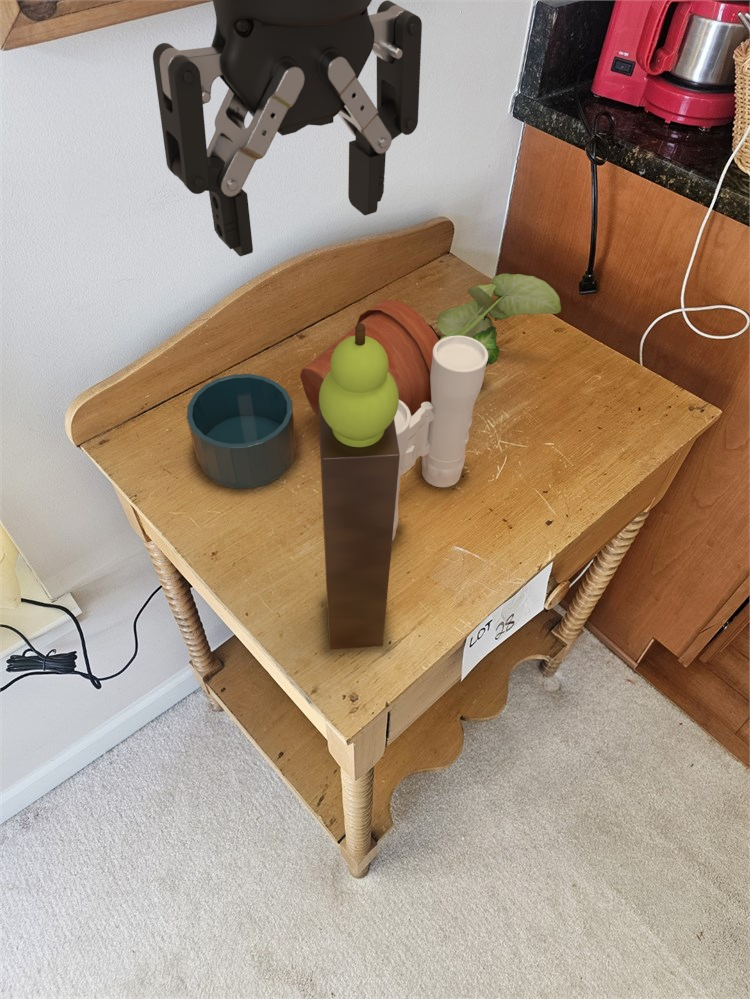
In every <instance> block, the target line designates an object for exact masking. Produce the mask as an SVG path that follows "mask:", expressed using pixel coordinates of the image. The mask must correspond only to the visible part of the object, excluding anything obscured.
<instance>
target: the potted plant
mask: <svg viewBox="0 0 750 999" xmlns="http://www.w3.org/2000/svg"><path fill="white" fill-rule="evenodd" d="M467 293H468V294H469V295H470V297H471V298H472V299H473V300H471V301H469V302H466V303H464V304H462V305H458V306H457V305H456V306H453V307H450V308H447V309H444V310H443V311H440V312H439V314H438V316H437V318H436V320H437V322H436V323H437V325H436V326H437V327H436V328H437V329H438V330H439V331H440V332H441V334H442V335H444V336H441V335H440V334H438V333H437V332H436V330H435V329H434V327H433V326H432V325H431V324H429V322H427V321H426V319H424V317H423V316H422V315H421V314H419V313H418V312H417V311H416V310H414V309H413V308H412V307H411V305H408V304H406V303H404V302H401V301H400V300H397V299H384V300H382V301H380V302H379V303H378V304H376V305H374V306H372V307H371V308H369V309H367V310H366V311H364V312H363V313H361V314H360V315H359V317H358V320H357V323H356V325H357V324H359V323H361V324H363V325H364V326H365V336H367V337H370V338H373V339H374V340H376V341H377V342H378V343H379V344H380V345H381V346H382V347H383V348H384V350H385V352H386V354H387V357H388V364H389V367H388V372H389V373H390V374H391V376H392V377H393V379H394V381H395V383H396V386H397V389H398V395H399V400H401V401H402V402H403V403H405V404H406V406H407V407H408V408H409V410H410V413H411V415H412V416H413V415H414V414H415V413H416V412H417V411H418V410H419V409H420V408H421V404H422V403H423V402H429V403H431V384H430V374H431V366H432V358H433V348H434V346H435V344H436V343H437V342H438V341H440V340H441V339H443V338H446V337H449V336H457V335H458V336H467V337H470V338H473V339H475V340H477V341H479V342H480V343H482V344H483V345H484V346H485V348H486V349H487V352H488V361H487V363H486V367H488V366H489V365H493V364H495V362H497V361H498V359H499V352H500V349H499V346H498V345H497V336H498V332H497V330H496V329H497V327H496V326H495V325H494V323H493V321H492V319H491V317H492V318H493V319H494V322H497V321H502V320H507V319H509V318H511V317H515V316H521V315H548V314H555V315H556V314H559V313H561V312H562V305H561V299H560V296H559V295H558V293H557V292H556V290H555V289H554V288H553V287H552V286H551V285H550V284H548V283H547V282H546V281H545V280H543V279H541V278H538V277H536V276H535V275H528V274H526V275H525V274H522V273H516V274H513V273H512V274H511V273H508V272H506V273H500V274H497V275H495V276H493V277H492V278H491V283H489V284H480V285H475V286H472V287H469V289H468V290H467ZM493 294H494V296H495V297H497V298H496V299H495V301H494V298H493ZM490 316H491V317H490ZM356 325H355V326H354V327H353V328H351V329H349V331H348V332H346V333H345V334H344V335H342V337H341V338H339V339H338V340H336V342H334V343H333V344H332V345H331V346H329V347H328V348H326V349H325V350H324V351H323V352H321V354H318V356H316V358H314V359H313V360H312V361H311V362H309V363H308V364H307V365H305V366H304V367H303V368H302V369H301V371H300V375H299V377H300V381H301V384H302V387H303V391H304V393H305V396H306V399H307V401H308V403H309V405H310V407H311V409H312V410H313V412H314V414H315V415H316V417H317V419H319V415H318V405H319V393H320V388H321V385H322V383H323V380H324V378H325V377H326V375H327V374H328V373H329V372H330V371H331V357H332V354H333V352H334V350H335V348H336V347H337V346H338V344H339V343H340V342H342V341H343V340H345V339H346V338H348V337H351V336H355V327H356Z"/></svg>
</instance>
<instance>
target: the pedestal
mask: <svg viewBox="0 0 750 999" xmlns="http://www.w3.org/2000/svg"><path fill="white" fill-rule="evenodd" d="M318 415H319V418H318V436H319V454H320V455H319V458H320V478H321V479H320V480H321V481H320V482H321V499H322V500H321V503H322V523H323V524H322V525H323V545H324V547H323V548H324V564H325V565H324V569H325V585H326V586H325V589H326V590H325V591H326V609H327V628H328V644H329V645H328V646H329V650H330V651H331V650H332V651H334V650H346V649H347V650H349V649H359V648H360V649H361V648H374V647H383V646H384V636H385V627H386V615H387V604H388V593H389V581H390V570H391V559H392V558H391V557H392V546H393V541H392V538H393V526H394V515H395V504H396V493H397V482H398V470H399V459H400V453H399V447H398V440H397V434H396V427H395V421H394V419H393V421H392V422H391V423H390V425H389V426H388V427H387V428H386V429H385V431H384V434H383V436H382V437H381V439H380V440H379V441H377V442H376V443H374V444H372V445H370V446H366V447H352V446H348V445H345V444H343V443H341V442H340V441H339V440H338V439H337V438H336V437H335V436H334V434H333V431H332V428H331V427H330V426H329V425H328V423H327V422H326V421H325V419H324V417H323V415H322V412H321V409H320V404H319V405H318Z"/></svg>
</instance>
